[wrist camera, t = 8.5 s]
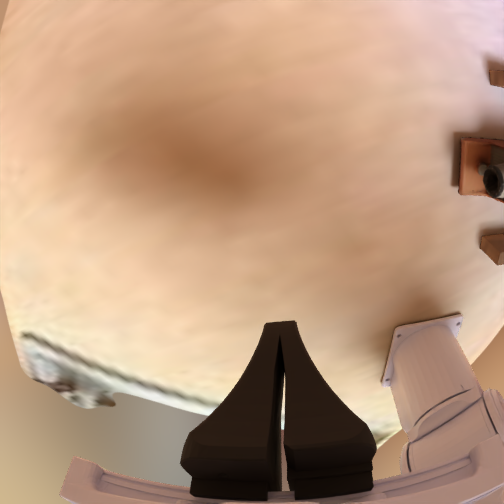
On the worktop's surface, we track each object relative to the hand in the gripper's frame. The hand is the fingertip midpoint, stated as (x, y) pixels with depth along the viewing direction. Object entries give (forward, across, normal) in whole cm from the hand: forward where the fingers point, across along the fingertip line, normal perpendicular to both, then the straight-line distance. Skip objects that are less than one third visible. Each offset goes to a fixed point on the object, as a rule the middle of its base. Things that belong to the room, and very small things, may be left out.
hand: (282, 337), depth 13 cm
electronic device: (+10, -19, -5) cm, 22 cm away
